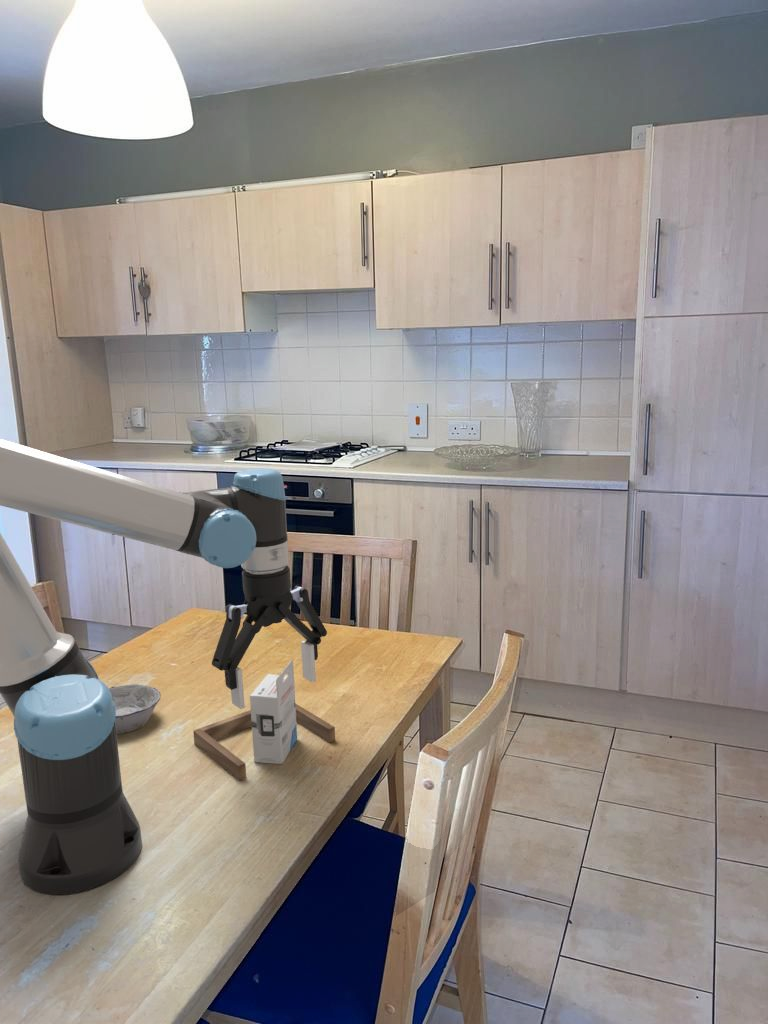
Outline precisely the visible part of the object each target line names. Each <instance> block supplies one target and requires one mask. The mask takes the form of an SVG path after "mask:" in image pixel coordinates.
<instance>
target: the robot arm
mask: <svg viewBox="0 0 768 1024" xmlns="http://www.w3.org/2000/svg"><path fill="white" fill-rule="evenodd" d="M233 476H234V477H233V482H232V484H233V485H230V486H227V487H221V488H213V489H204V490H196V491H187V492H181V491H175V490H173V489H169V488H165V487H162V486H159V485H156V484H151V483H149V482H145V481H143V480H142V481H141V480H138V479H135V478H132V477H129V476H125V475H122V474H118V473H116V472H113V471H109V470H106V469H102V468H99V467H96V466H92V465H89V464H86V463H83V462H79V461H75V460H72V459H68V458H66V457H63V456H59V455H56V454H52V453H50V452H46V451H43V450H39V449H36V448H33V447H31V446H30V447H29V446H26V445H23V444H19V443H16V442H13V441H9V440H5V439H2V438H0V506H1V507H5V508H9V509H13V510H17V511H21V512H24V513H28V514H33V515H36V516H40V517H44V518H48V519H51V520H52V519H53V520H56V521H60V522H63V523H68V524H71V525H75V526H80V527H83V528H88V529H92V530H95V531H98V532H103V533H107V534H109V535H110V534H111V535H115V536H118V537H123V538H127V539H130V540H134V541H138V542H141V543H142V542H143V543H145V544H150V545H154V546H158V547H161V548H166V549H169V550H174V551H177V552H179V553H183V554H186V555H191V556H194V557H198V558H201V559H203V560H204V561H206V562H208V563H209V564H211V565H213V566H216V567H218V568H221V569H230V568H231V569H232V568H236V567H238V566H241V568H242V571H241V577H242V590H243V594H244V602H243V604H240V605H239V604H238V605H233V604H227V606H226V609H225V611H226V612H225V614H226V615H225V621H224V623H223V628H222V631H221V633H220V637H219V639H218V642H217V645H216V648H215V651H214V654H213V658H212V660H211V666H212V667H214V668H215V669H218V670H220V671H221V672H222V671H224V680H225V687H226V688H227V689H230V693H231V696H230V697H231V703H232V705H234V706H235V707H237V708H238V709H240V710H242V709H245V708H246V705H245V704H246V703H245V693H244V683H243V682H244V681H243V672H242V671H243V670H242V668H241V667H239V665H240V663H241V661H242V660H243V658H244V657H245V654H246V653H247V650H248V648H249V647H250V645H251V644H252V642H253V640H254V638H255V636H256V634H258V633H260V631H261V629H262V627H263V628H266V627H267V628H268V627H270V626H272V625H273V624H280V623H282V621H283V620H284V621H285V622H287V624H288V625H289V626H291V628H293V629H294V630H295V631H296V632H297V633H298V634H299V635H301V636H302V637H303V639H305V640H302V641H300V648H301V649H300V650H301V663H302V664H301V665H302V667H301V668H302V677H303V679H304V680H307V681H309V682H310V683H314V682H316V681H317V676H316V661H317V660H318V657H319V653H318V650H319V649H318V645H320V644H321V642H322V637H323V638H324V637H326V636H327V634H328V630H327V629H326V627H325V626H324V625H325V624H323V622H322V620H321V618H320V617H319V615H318V613H317V612H316V610H315V608H314V606H313V604H312V603H311V601H310V596H309V592H308V589H307V588H304V587H302V586H299V585H295V586H294V587H293V589H292V590H291V588H292V580H291V569H290V567H289V566H288V565H289V563H290V558H289V557H290V556H289V543H288V528H287V525H288V524H287V508H286V507H287V505H286V503H287V502H286V501H287V498H286V491H285V486H284V485H285V483H284V479H283V475H282V474H281V473H280V471H278V470H276V469H274V468H249V469H246V470H245V469H244V470H240V471H238V472H236V473H235V474H234V475H233ZM293 601H294V602H296V604H297V606H298V608H299V609H300V611H301V613H302V615H303V617H304V618H305V621H307V623H308V625H309V627H310V628H311V629H310V628H309V627H308V626H307V625H306V624H305V623H303V621H301V620H300V618H299V617H297V614H295V613H294V612H293V611H292V610H291V609H290V607H291V605H292V603H293ZM244 614H246V617H245V616H244ZM244 617H245V618H244ZM243 619H244V620H243ZM242 620H243V621H242ZM241 621H242V627H241V629H240V626H241ZM253 622H254V624H253ZM239 630H240V631H239ZM0 696H1V697H2V699H3V700H4V702H5V704H6V705H7V707H8V709H9V710H10V712H11V714H12V715H13V717H14V718H13V729H14V735H15V737H16V739H17V747H18V753H19V760H20V767H21V776H22V783H23V790H24V798H25V804H26V812H27V817H26V822H25V824H24V829H23V835H22V839H21V843H20V847H19V852H18V867H19V868H18V869H19V873H20V878H21V880H22V882H23V883H24V884H25V885H26V886H27V887H28V888H29V889H31V890H33V891H36V892H39V893H43V894H48V895H67V894H75V893H79V892H83V891H88V890H91V889H93V888H97V887H99V886H101V885H103V884H106V883H108V882H110V881H112V880H114V879H115V878H116V877H119V875H121V874H123V873H124V872H125V871H127V869H128V868H129V867H131V866H132V865H133V863H134V862H135V861H136V860H137V858H138V857H139V855H140V853H141V849H142V846H143V843H142V842H143V841H142V832H141V826H140V823H139V821H138V819H137V817H136V815H135V813H134V811H133V809H132V807H131V805H130V804H129V802H128V800H127V798H126V796H125V794H124V791H123V785H122V776H121V775H122V773H121V764H120V757H119V756H120V755H119V746H118V745H119V744H118V736H117V734H116V726H115V716H116V710H115V704H114V701H113V699H112V695H111V692H110V690H109V687H108V685H106V683H104V682H103V681H102V680H100V679H99V676H98V673H97V671H96V670H95V668H94V666H93V665H92V663H91V662H90V661H88V659H87V658H85V656H84V654H83V652H82V650H81V649H80V647H79V645H78V643H77V642H76V640H75V638H74V637H73V636H72V635H71V634H68V633H64V632H59V631H57V630H56V628H55V626H54V625H53V623H52V621H51V619H50V618H49V616H48V614H47V612H46V610H45V608H44V607H43V605H42V604H41V602H40V600H39V598H38V596H37V595H36V593H35V591H34V590H33V588H32V586H31V584H30V582H29V581H28V579H27V577H26V575H25V573H24V572H23V570H22V569H21V567H20V565H19V563H18V561H17V560H16V558H15V556H14V554H13V553H12V551H11V549H10V547H9V545H8V544H7V543H6V540H5V538H4V537H3V535H2V533H1V532H0Z"/></svg>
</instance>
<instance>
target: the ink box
mask: <svg viewBox="0 0 768 1024" xmlns="http://www.w3.org/2000/svg"><path fill="white" fill-rule="evenodd" d="M295 687H296V685H295V673H294V660H293V659H291V660H290V661H289V662H288V664H287V665H286V666H285V667H284V668H283V670H282V671H281V672H280V674H271V673H269V674H266V676H264V678H263V679H262V680H261V682H259V684H258V685H257V686H256V687H255V689H254V690H253V691H252V693H251V694H249V701H250V702H249V704H250V710H251V721H252V727H251V734H252V750H253V761H254V763H264V764H276V765H282V764H283V763H284V762H285V760H286V758H287V756H288V755H289V753H290V752H291V750H292V749H293V746H294V745H295V743H296V741H297V740H298V730H297V729H298V728H297V726H298V725H297V722H296V706H295V703H296V688H295Z"/></svg>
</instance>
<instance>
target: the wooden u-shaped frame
mask: <svg viewBox="0 0 768 1024" xmlns="http://www.w3.org/2000/svg"><path fill="white" fill-rule="evenodd" d="M295 706H296V724H299V725H300V726H302V727H304V728H305V729H307V730H309V731H310V732H311V733H312V734H315V735H316V736H318V737H319V738H321V739H322V740H323V741H325V742H328V743H333V742H335V741H336V727H335V726H334V725H332V724H330V723H329V722H327V721H325V720H324V719H323V718H321V717H319V716H317V715H316V714H314V713H312V712H311V711H310V710H307V709H306V708H305V707H302V706H301V705H299V704H298V703H296V702H295ZM248 728H252V721H251V709H249V710H247V711H244V712H241V713H239V714H238V713H237V714H236V715H232V716H230V717H228V718H224V719H221V720H219V721H216V722H213V723H210V724H207V725H205V726H203V727H200V728H197V729H194V730H193V731H192V732H193V744H194V745H195V746H196V747H197V748H198V749H200V750H201V751H202V752H204V753H205V754H206V755H207V756H208V757H210V758H211V759H212V760H214V761H215V762H216V763H217V764H218V765H219V766H220V767H222V768H223V769H224V770H226V771H227V772H228V773H229V774H231V775H232V776H233V777H234V778H235V779H237V781H242V780H245V779H247V769H246V768H247V767H246V762H245V761H243V760H242V759H241V758H239V757H238V756H236V755H235V754H234V753H233V752H231V751H230V750H229V749H228V748H226V747H225V746H223V744H221V743H220V742H219V741H217V740H219V739H223V738H225V737H227V736H228V737H229V736H230V735H233V734H236V733H238V732H241V731H244V730H246V729H248Z"/></svg>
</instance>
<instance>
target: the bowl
mask: <svg viewBox="0 0 768 1024" xmlns="http://www.w3.org/2000/svg"><path fill="white" fill-rule="evenodd" d="M108 688H109V687H108ZM109 690H110V692H111V695H112V699H113V701H114V704H115V710H116V716H115V726H116V735H117V734H124V733H125V734H126V733H129V732H133V731H137V730H139V729H141V728H142V727H144V726H145V725H146V724H147V723H148V721H149V720H150V717H151V716H152V714H153V712H154V710H155V708H156V706H157V705H158V703H159V702H160V700H161V696H162V695H161V692H160V691H159V690H158V689H156V687H153V686H149V685H144V684H138V683H132V684H125V685H118V686H111V687H110V688H109Z"/></svg>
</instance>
